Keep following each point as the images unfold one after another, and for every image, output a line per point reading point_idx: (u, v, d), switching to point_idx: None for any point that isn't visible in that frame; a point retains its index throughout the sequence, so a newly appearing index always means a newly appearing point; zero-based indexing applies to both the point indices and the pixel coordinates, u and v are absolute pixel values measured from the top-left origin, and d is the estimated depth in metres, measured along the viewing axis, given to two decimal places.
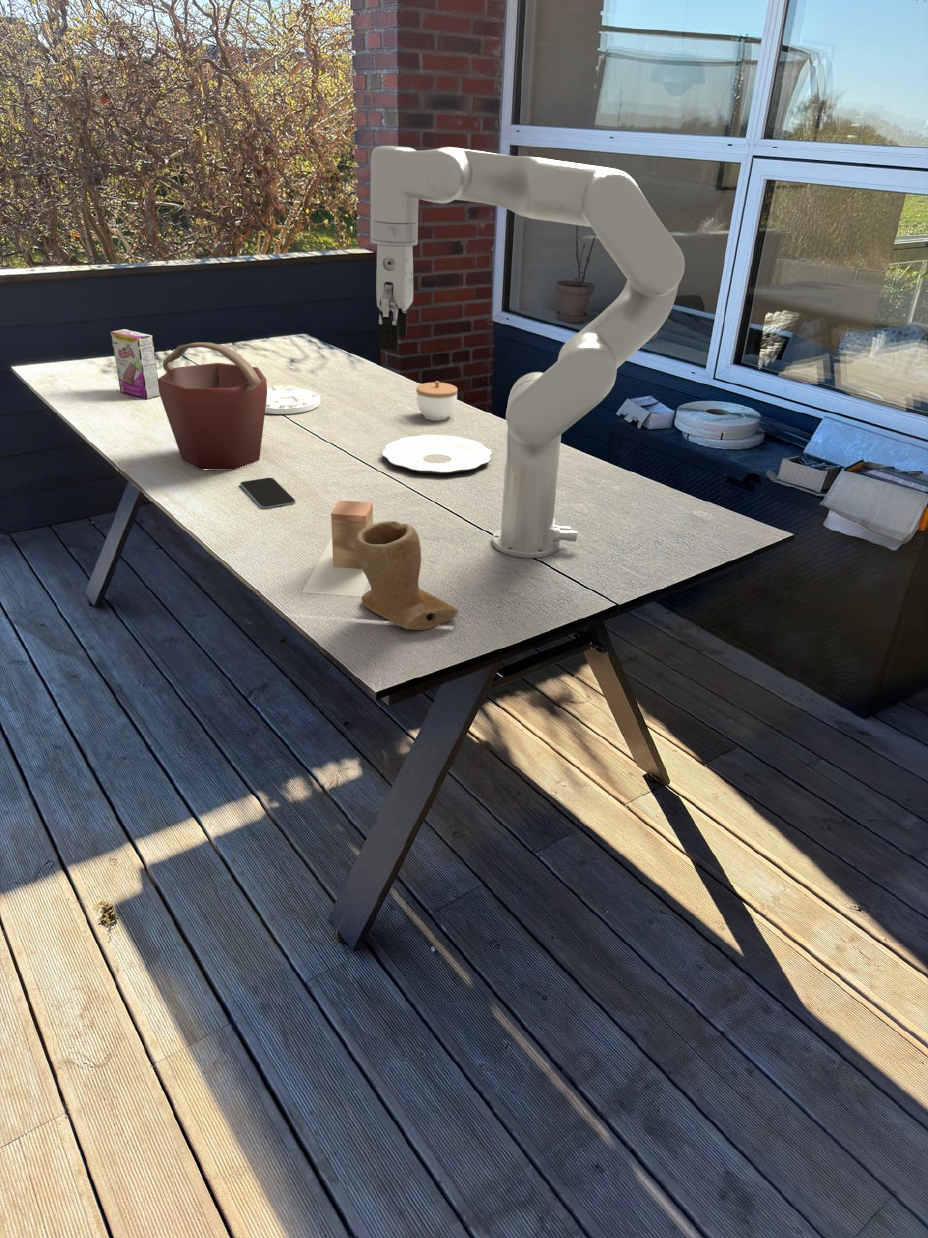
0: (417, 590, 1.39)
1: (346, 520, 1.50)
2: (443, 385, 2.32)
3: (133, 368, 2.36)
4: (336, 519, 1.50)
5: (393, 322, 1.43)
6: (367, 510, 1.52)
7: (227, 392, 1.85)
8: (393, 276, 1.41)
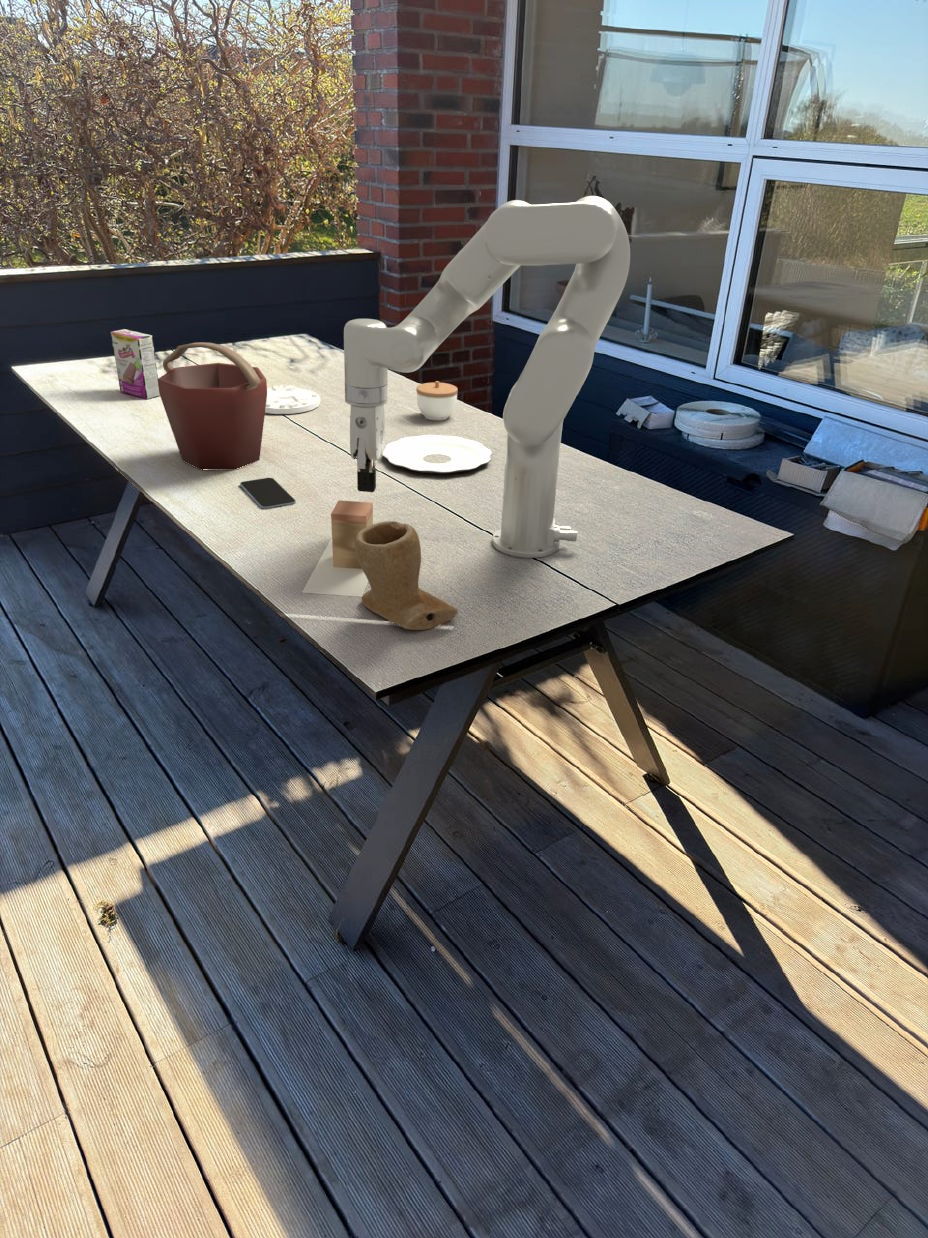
0: (417, 590, 1.39)
1: (346, 520, 1.50)
2: (443, 385, 2.32)
3: (133, 368, 2.36)
4: (336, 519, 1.50)
5: (370, 472, 1.63)
6: (367, 510, 1.52)
7: (227, 392, 1.85)
8: (365, 433, 1.56)
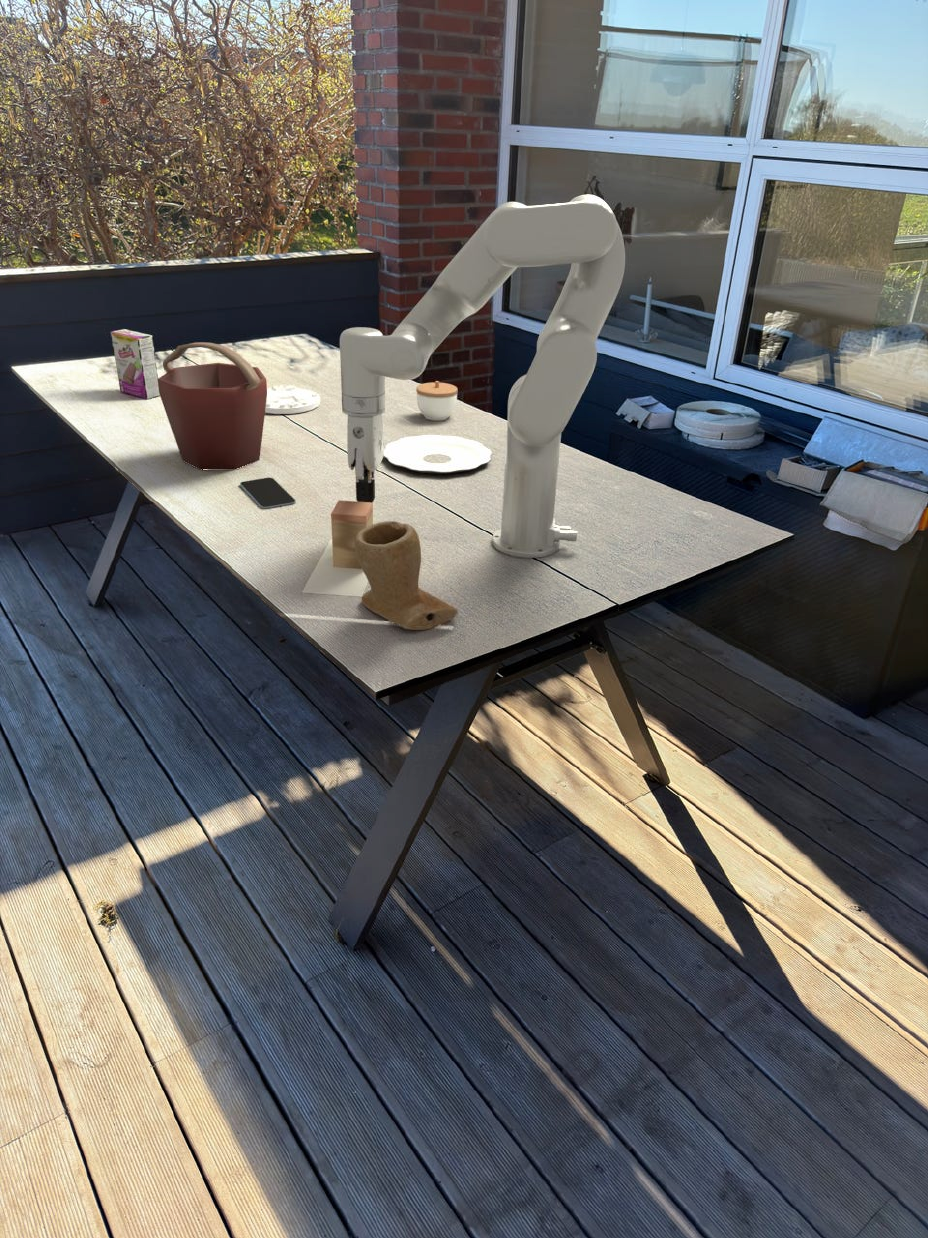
0: (417, 590, 1.39)
1: (346, 520, 1.50)
2: (443, 385, 2.32)
3: (133, 368, 2.36)
4: (336, 519, 1.50)
5: (369, 482, 1.61)
6: (367, 510, 1.52)
7: (227, 392, 1.85)
8: (363, 443, 1.54)
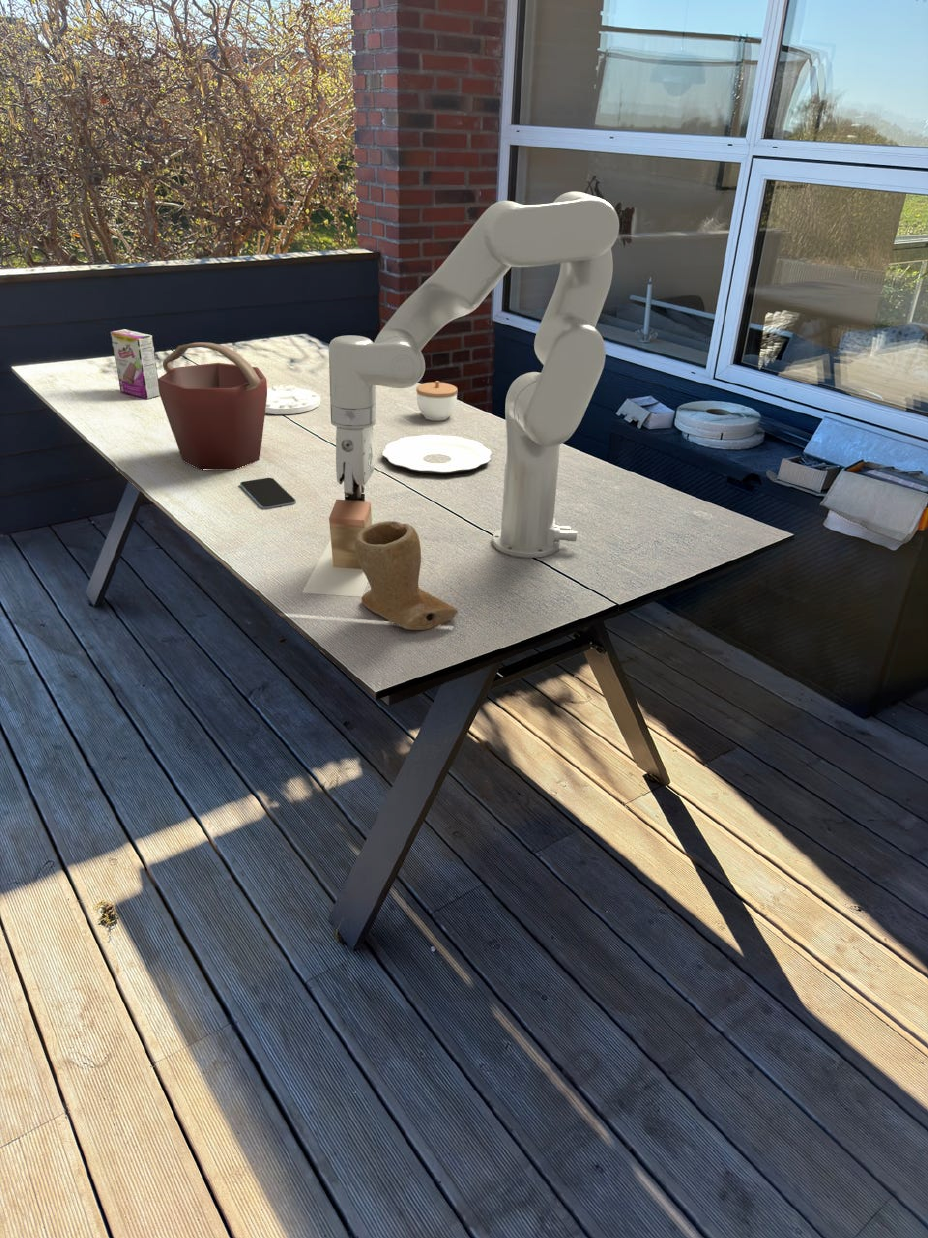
0: (417, 590, 1.39)
1: (344, 524, 1.49)
2: (443, 385, 2.32)
3: (133, 368, 2.36)
4: (334, 523, 1.49)
5: (358, 497, 1.54)
6: (365, 512, 1.50)
7: (227, 392, 1.85)
8: (352, 457, 1.47)
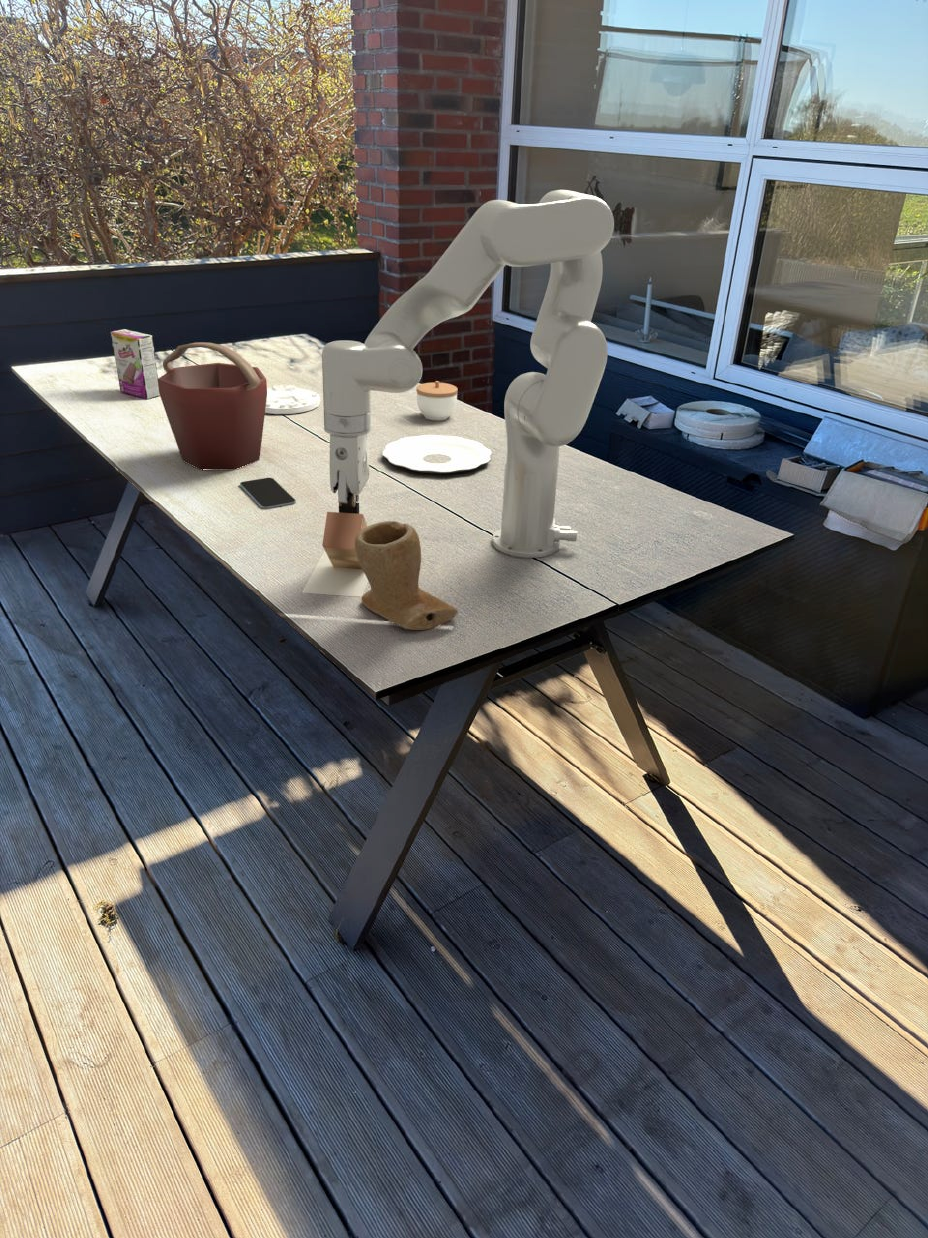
0: (417, 590, 1.39)
1: (339, 548, 1.46)
2: (443, 385, 2.32)
3: (133, 368, 2.36)
4: (328, 547, 1.46)
5: (353, 506, 1.50)
6: None
7: (227, 392, 1.85)
8: (346, 465, 1.43)
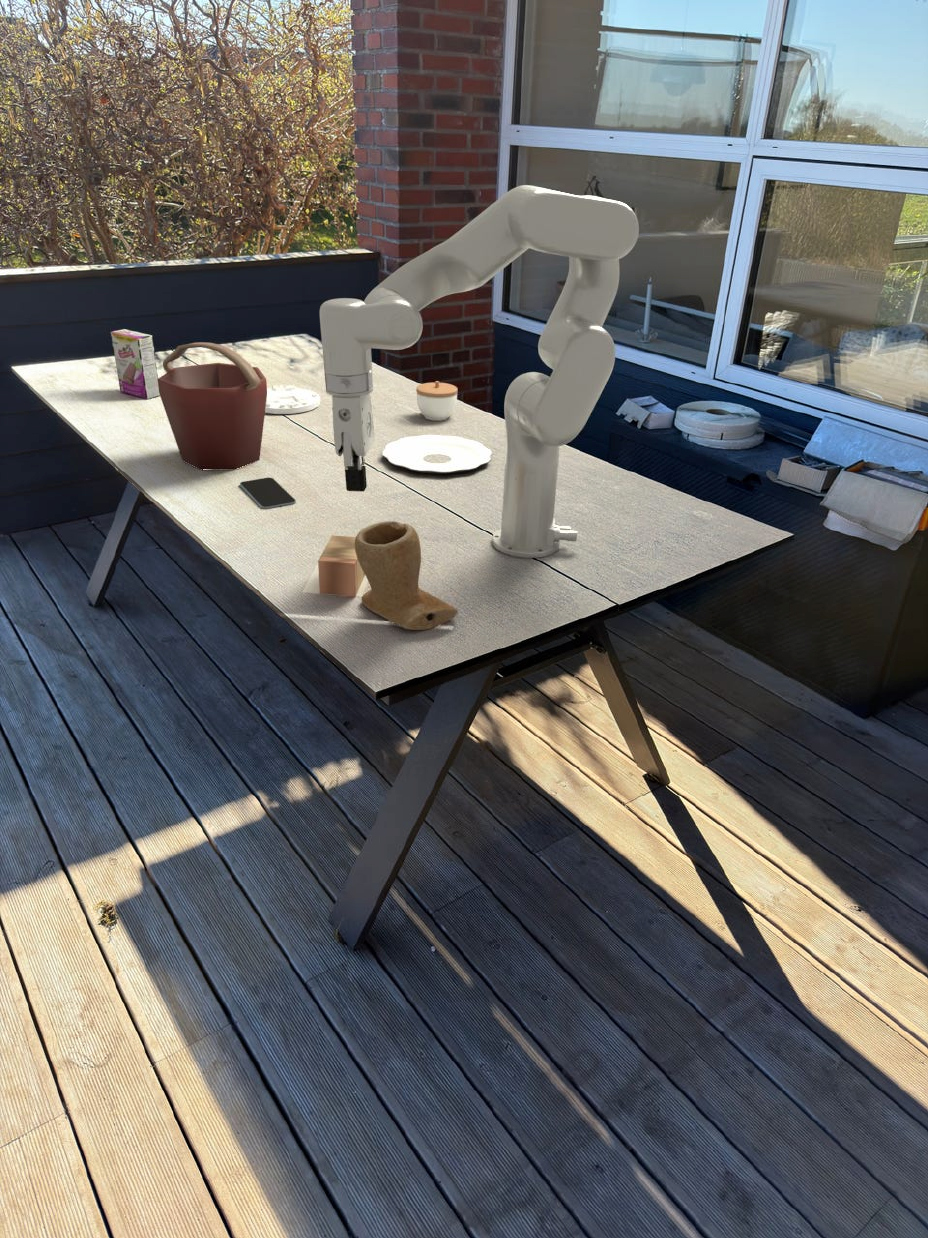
0: (417, 590, 1.39)
1: None
2: (443, 385, 2.32)
3: (133, 368, 2.36)
4: None
5: (359, 469, 1.47)
6: (354, 583, 1.45)
7: (227, 392, 1.85)
8: (350, 426, 1.40)
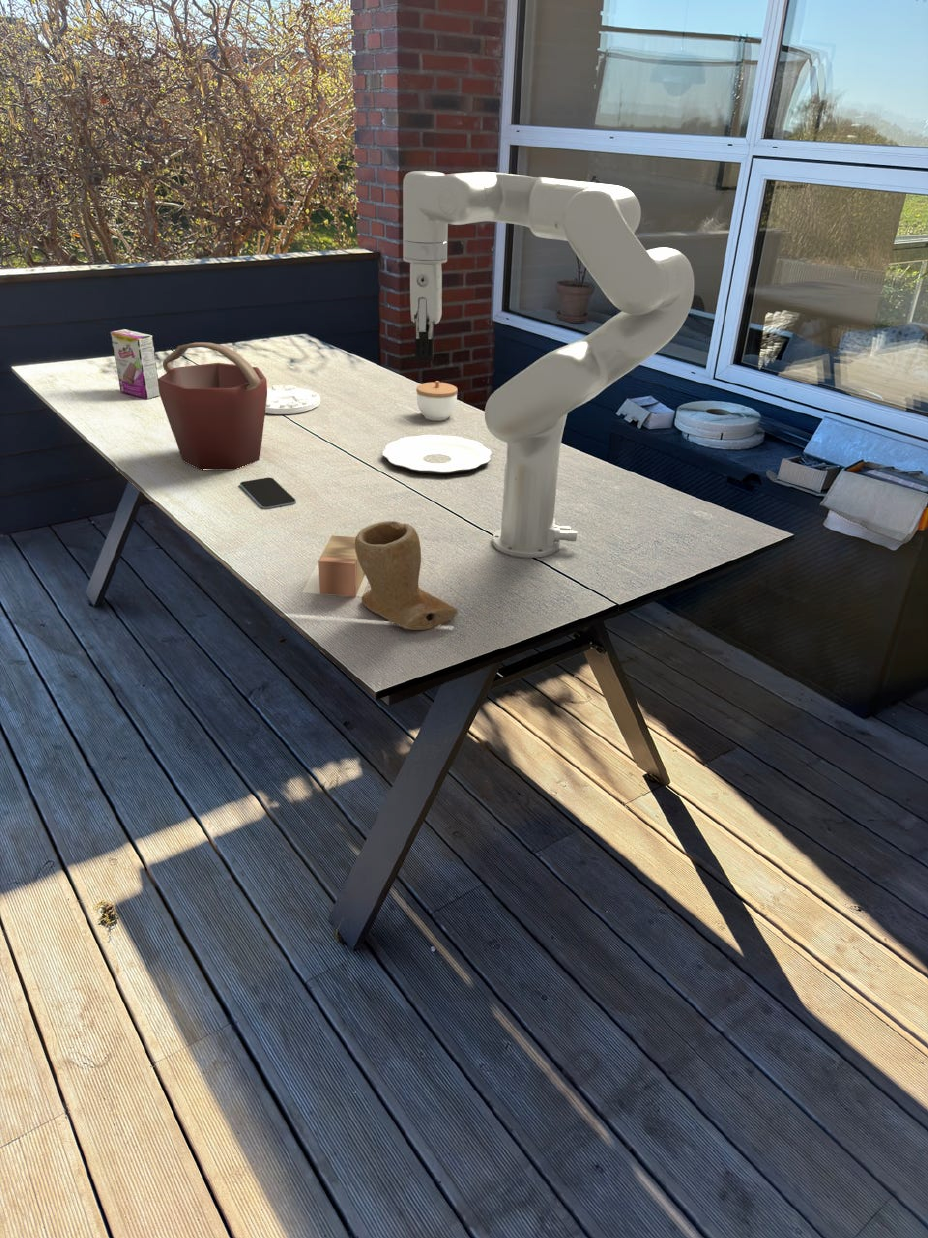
0: (417, 590, 1.39)
1: None
2: (443, 385, 2.32)
3: (133, 368, 2.36)
4: None
5: (429, 338, 1.58)
6: (354, 583, 1.45)
7: (227, 392, 1.85)
8: (427, 292, 1.51)
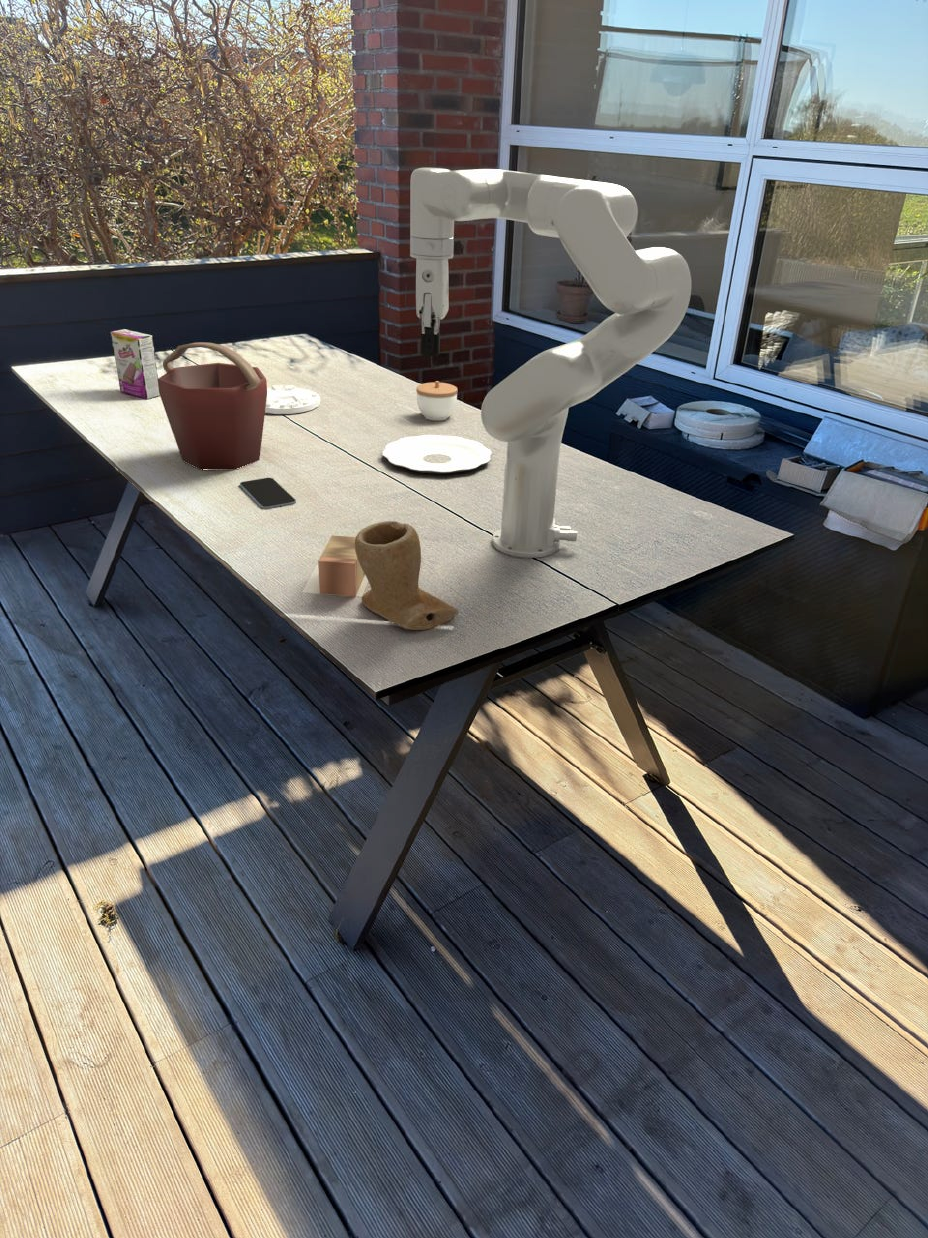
0: (417, 590, 1.39)
1: None
2: (443, 385, 2.32)
3: (133, 368, 2.36)
4: None
5: (435, 334, 1.60)
6: (354, 583, 1.45)
7: (227, 392, 1.85)
8: (432, 287, 1.53)
